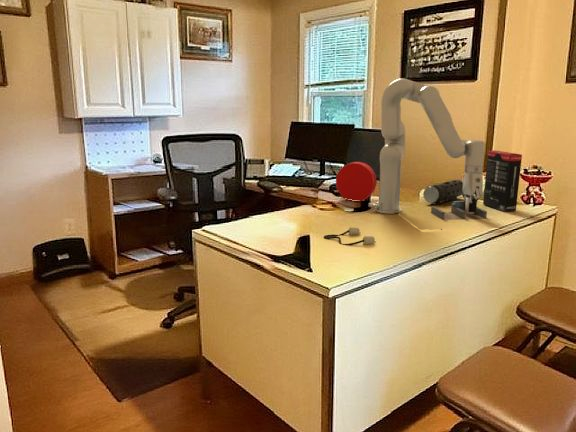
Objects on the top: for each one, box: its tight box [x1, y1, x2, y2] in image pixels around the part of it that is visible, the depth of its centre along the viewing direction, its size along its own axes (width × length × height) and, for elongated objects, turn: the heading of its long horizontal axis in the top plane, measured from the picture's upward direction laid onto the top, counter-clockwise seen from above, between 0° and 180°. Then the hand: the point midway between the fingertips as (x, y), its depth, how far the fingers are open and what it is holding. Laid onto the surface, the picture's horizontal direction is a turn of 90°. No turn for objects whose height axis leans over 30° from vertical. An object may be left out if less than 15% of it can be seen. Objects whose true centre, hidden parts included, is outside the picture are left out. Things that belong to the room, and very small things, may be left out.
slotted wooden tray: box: [430, 200, 488, 221], centre depth 211 cm, size 20×14×6 cm
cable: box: [323, 226, 377, 246], centre depth 177 cm, size 16×16×4 cm
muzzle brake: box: [423, 179, 463, 205], centre depth 244 cm, size 10×28×10 cm, turn 135°
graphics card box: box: [482, 150, 523, 213], centre depth 227 cm, size 17×7×27 cm, turn 14°
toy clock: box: [335, 161, 377, 202], centre depth 245 cm, size 20×6×20 cm, turn 66°
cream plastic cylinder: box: [465, 195, 475, 214], centre depth 209 cm, size 4×4×8 cm
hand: (469, 210), depth 210 cm, fingers closed on cream plastic cylinder, 3 cm apart
